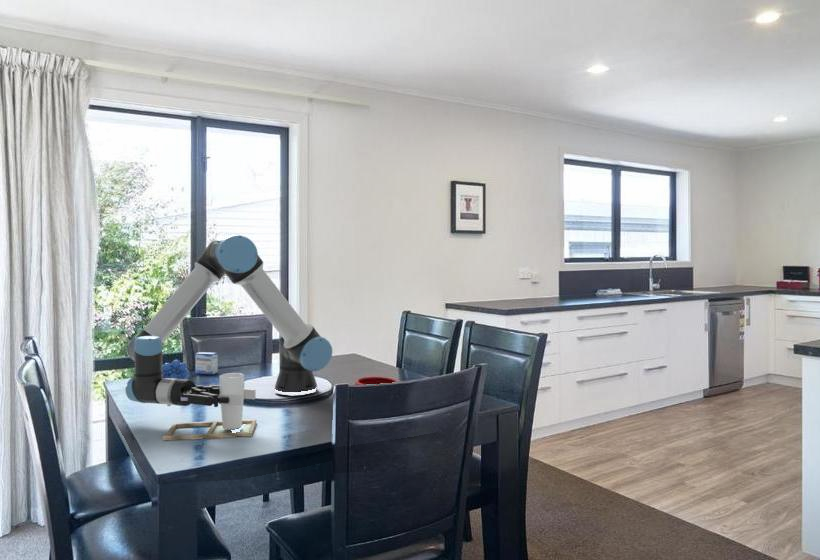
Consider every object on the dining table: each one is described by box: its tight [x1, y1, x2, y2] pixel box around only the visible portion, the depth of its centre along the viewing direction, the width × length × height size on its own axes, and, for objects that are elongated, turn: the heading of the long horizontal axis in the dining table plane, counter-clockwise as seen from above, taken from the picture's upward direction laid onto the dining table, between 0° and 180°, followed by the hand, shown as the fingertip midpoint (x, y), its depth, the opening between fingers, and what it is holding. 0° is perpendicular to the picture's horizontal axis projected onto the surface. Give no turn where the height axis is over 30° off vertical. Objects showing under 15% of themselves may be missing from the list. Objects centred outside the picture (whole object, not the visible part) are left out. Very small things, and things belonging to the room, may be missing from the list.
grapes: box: [162, 359, 190, 379], centre depth 205 cm, size 12×7×12 cm, turn 126°
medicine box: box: [195, 351, 219, 375], centre depth 240 cm, size 8×4×9 cm, turn 80°
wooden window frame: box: [162, 418, 258, 441], centre depth 160 cm, size 23×13×1 cm, turn 100°
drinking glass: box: [218, 372, 245, 430], centre depth 161 cm, size 7×7×15 cm
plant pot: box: [354, 376, 399, 386], centre depth 172 cm, size 13×13×12 cm
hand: (247, 397), depth 159 cm, fingers closed on drinking glass, 7 cm apart
